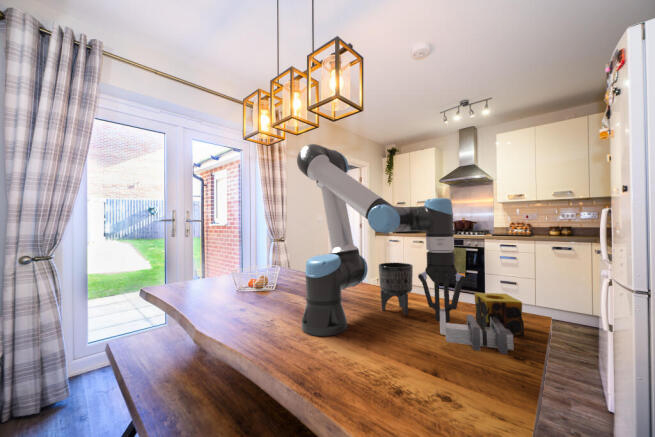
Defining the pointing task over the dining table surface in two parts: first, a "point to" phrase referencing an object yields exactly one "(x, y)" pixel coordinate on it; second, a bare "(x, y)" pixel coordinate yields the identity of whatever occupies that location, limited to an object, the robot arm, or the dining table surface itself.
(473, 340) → the collar
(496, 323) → the collar
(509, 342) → the banded white block
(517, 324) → the candle
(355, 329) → the dining table surface
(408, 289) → the planter
